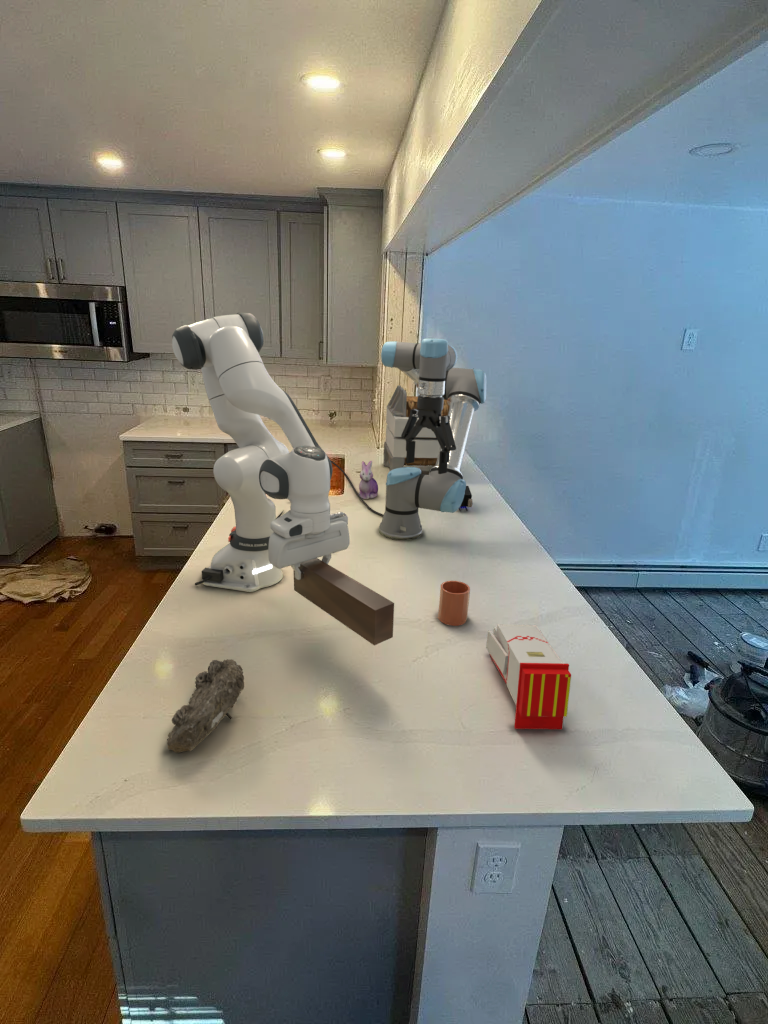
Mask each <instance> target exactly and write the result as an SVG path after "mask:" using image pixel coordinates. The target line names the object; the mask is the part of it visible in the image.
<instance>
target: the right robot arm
mask: <svg viewBox="0 0 768 1024" xmlns="http://www.w3.org/2000/svg"><path fill="white" fill-rule="evenodd" d="M380 352H381V353H380V359H381V363H382V365H383V366H384V367H387V368H391V369H392V368H395V369H398V370H399V371H401V372H402V373H403V374H404V375H406V376H407V377H408V378H409V379H410V380H412V381H413V383H414V385H415V386H416V388H417V393H418V394H419V395H418V398H417V408H418V409H411V410H410V416H409V419H408V421H407V423H406V426H405V428H404V430H403V432H402V435H401V437H402V438H404V439H405V441H406V451H407V455H406V463H413V462H414V457H415V442H416V441H412V440H414V438H415V437H416V436H417V435H418V433H419V432H420V431H421V430H422V428H428V429H431V430H432V431H433V432H434V434H435V436H436V438H437V440H438V442H439V444H440V449H439V453H438V458H437V462H436V466H431V467H430V469H429V472H428V474H425V473H422V469H421V468H419V467H417V466H404V467H402V468H397V469H393V470H391V471H390V470H389V472H388V473H387V475H386V482H385V504H384V505H385V507H384V508H385V509H384V513H381V512H378V511H376V510H375V509H374V508H372V507H370V506H369V504H368V503H367V502H365V500H364V499H363V498H361V497H360V496H359V492H358V491H357V489H356V488H355V486H354V484H353V482H352V481H351V479H350V477H349V476H348V474H347V473H346V472H345V471H344V470H343V469H342V467H340V465H338V464H336V463H335V462H334V461H333V460H331V459H330V461H331V463H332V465H334V466H335V467H337V468H338V469H339V471H341V473H343V475H344V476H345V478H346V479H347V480H348V483H349V484H350V486H351V488H352V490H353V491H354V493H355V494H356V496H357V497H358V499H359V500H360V501H361V502H362V504H364V505H365V507H366V508H367V509H368V510H369V511H371V512H372V513H374V514H376V515H379V516H381V517H382V519H381V522H379V526H378V533H379V534H380V535H381V536H382V537H385V538H387V539H389V540H395V541H410V540H415V539H418V538H420V537H421V536H422V535H423V525H422V524H421V518H420V515H419V509H424V510H430V511H435V512H441V513H450V514H453V513H456V512H457V511H459V507H460V506H461V503H462V501H463V498H464V495H465V490H466V486H467V482H466V480H465V479H464V475H463V473H462V471H461V472H460V469H461V470H462V465H463V459H464V455H465V451H466V447H467V441H468V437H469V433H470V429H471V424H472V420H473V416H474V413H475V412H476V411H478V410H479V409H480V405H483V404H485V403H486V400H487V391H488V390H487V386H488V385H487V374H486V372H485V371H484V370H482V369H476V368H464V367H454V366H456V364H457V362H458V359H459V358H458V356H459V355H458V352H457V349H455V347H454V346H453V345H451V344H449V342H448V340H447V339H445V338H433V337H431V338H430V337H429V338H426V337H425V338H423V339H422V340H421V342H407V341H406V342H405V341H397V340H395V341H394V340H393V341H385V342H384V344H383V345H382V347H381V351H380ZM444 400H447V403H448V405H449V406H450V408H449V412H448V416H441V411H442V409H443V404H444ZM418 418H419V419H418ZM417 419H418V421H417ZM416 421H417V422H416ZM414 425H415V426H414Z"/></svg>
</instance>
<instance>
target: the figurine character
mask: <svg viewBox="0 0 768 1024" xmlns="http://www.w3.org/2000/svg"><path fill="white" fill-rule="evenodd" d="M472 497H473V495H472V492H471V489H470V486H469V485H466V490H465V495H464V498H463V501H462V503H461V506H460V507H459V509H458V511H459V512H461V511H462V510H461V509H465V511H466V512H468V511H469V510H468V508H472V507H473V498H472Z"/></svg>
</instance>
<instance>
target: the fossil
mask: <svg viewBox="0 0 768 1024" xmlns="http://www.w3.org/2000/svg"><path fill="white" fill-rule="evenodd" d="M243 670H244V669H243V667H242V665H240V664H237V662H236V661H235V660H234V659H232V658H231V659H227V658H226V659H224V660H223V661H222V660H217V659H212V660H211V661H210V663H209V665H208V666H207V671H201V672H199V673H198V674H197V675H196V676H195V680H194V684H195V685H194V687H195V689H194V690H193V693H192V694H191V697H190V698H189V700H188V704H184V705H182V706H181V707H180V709H177V710H176V711H175V713H174V715H173V716H172V718H171V723H172V724H173V727H172V730H171V731H170V732H168V734H167V738H166V741H167V742H166V745H167V749H168V750H169V751H173V752H174V753H176V754H178V753H182V752H188V751H189V752H192V751H193V750H195V748H196V747H197V746H199V744H200V743H201V742H203V741H204V740H205V739H206V738H207V737H208V736H209V735H210V734H211V733H212V732H214V730H215V729H217V727H218V726H219V724H220V722H221V721H222V720H223V719H224V718H225V716H226V717H227V719H229V720H233V717H232V715H230V714H229V710H230V709H231V708H234V706H235V704H236V703H237V702H238V699H239V697H240V695H241V693H242V691H243V690H245V689H244V688H245V675H244V671H243Z"/></svg>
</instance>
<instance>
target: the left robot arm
mask: <svg viewBox="0 0 768 1024" xmlns="http://www.w3.org/2000/svg"><path fill="white" fill-rule="evenodd" d="M171 338H172V341H171V348H172V351H173V354H174V356H175V358H176V360H177V361H178V362H179V363H180V365H181V366H182V367H183V368H185V369H187V370H192V371H193V370H197V371H198V370H201V376H202V380H203V381H202V382H203V386H204V389H205V393H206V395H207V399H208V402H209V405H210V407H211V411H212V413H213V417H214V420H215V422H216V424H217V427H218V428H219V430H220V431H221V432H223V433H225V434H227V436H229V437H231V439H232V440H233V441H234V442H235V444H236V445H237V447H238V448H234V449H231V450H229V451H227V452H226V453H224V454H223V455H221V456H219V458H217V459H216V461H215V462H214V464H213V468H212V469H213V470H212V471H213V477H214V480H215V482H216V484H217V485H218V487H220V489H222V490H223V491H225V492H226V493H227V494H228V495H229V497H230V500H231V502H232V505H233V509H234V519H235V526H233V527H232V528H231V530H230V533H229V535H228V538H227V539H228V540H227V542H228V543H227V544H226V545H225V546H224V547H222V548H220V549H219V550H218V551H217V552H215V553H214V555H213V557H212V559H211V562H210V566H208V567H205V568H203V569H202V570H201V580H200V581H197V582H194V585H195V586H198V585H201V584H202V585H204V586H207V587H213V588H221V589H226V590H234V591H239V592H240V591H241V592H246V593H253V592H256V591H258V590H261V589H263V588H268V587H271V586H274V585H276V584H278V583H279V582H280V581H281V580H283V577H284V573H283V571H282V569H284V568H288V567H291V568H292V570H293V572H294V571H295V578H296V579H297V580H300V579H303V578H304V572H303V571H302V570H300V569H299V568H298V567H300V563H301V562H305V561H308V560H311V559H315V558H318V559H319V558H321V557H322V558H321V559H320V560H321V561H323V562H325V563H326V564H328V565H329V562H330V561H331V559H332V554H335V553H338V552H342V551H345V550H347V549H348V548H349V546H350V542H351V541H350V540H351V539H350V531H349V526H348V525H349V517H348V515H347V514H346V513H345V512H343V511H338V512H335V513H331V503H330V497H329V495H330V491H331V480H332V476H333V471H334V469H333V463H331V461H332V460H331V459H330V457H329V455H328V454H327V453H326V452H325V451H324V449H323V448H322V447H321V445H320V444H319V443H318V441H317V440H316V438H315V435H314V434H313V433H312V430H311V429H310V428H309V426H308V425H307V423H306V421H305V419H304V418H303V415H302V414H301V412H300V411H299V409H298V407H297V405H296V403H295V402H294V400H293V399H292V398H291V396H290V395H289V394H288V392H286V391H285V390H283V389H282V388H281V387H280V386H279V385H278V384H277V383H276V382H275V381H274V379H273V378H272V377H271V375H270V374H269V371H268V370H267V368H266V366H265V364H264V362H263V359H262V357H261V355H260V352H261V350H262V348H263V347H264V343H265V342H264V331H263V329H262V326H261V324H260V322H259V320H258V318H257V317H256V316H254V314H253V313H250V312H237V313H236V314H224V315H223V314H222V315H217V316H211V318H208V319H207V318H206V319H203V320H200V321H197V322H193V323H191V324H184V325H181V326H179V327H177V328H175V329H174V331H173V333H172V335H171ZM262 417H264V418H267V419H269V420H271V421H273V422H275V423H276V424H277V425H278V426H279V427H280V428H281V430H282V432H283V434H284V435H285V437H286V439H287V441H288V442H289V444H290V445H291V447H292V450H291V451H290V450H289V449H288V447H287V446H286V444H285V443H283V442H281V441H279V440H278V439H277V438H276V437H275V436H274V435H273V434H272V433H271V432H270V430H269V429H268V427H267V426H266V424H265V423H264V421H263V419H262ZM330 460H331V461H330ZM267 496H268V497H269V498H268V497H267ZM271 499H275V500H288V501H289V503H290V506H289V507H290V509H289V510H288V511H286V512H285V513H282V514H281V516H280V517H279V518H277V507H276V504H275V502H274V501H273V500H271ZM276 518H277V519H276Z"/></svg>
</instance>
